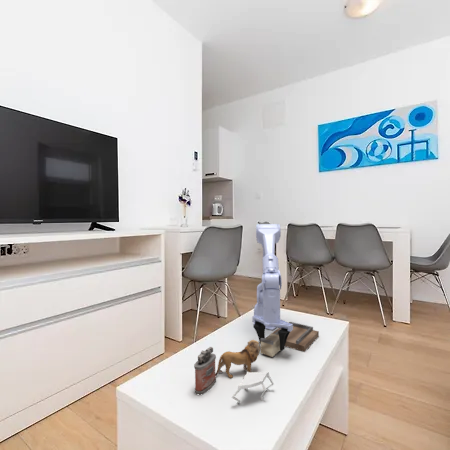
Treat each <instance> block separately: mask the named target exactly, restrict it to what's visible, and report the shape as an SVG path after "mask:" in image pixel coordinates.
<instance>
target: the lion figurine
mask: <svg viewBox="0 0 450 450" xmlns="http://www.w3.org/2000/svg"><path fill="white" fill-rule="evenodd" d="M260 352H261V345H260V341H257V340H255V339H251V340H249V341H247V345H245V346H244V348H243V349H242V350H241V351H238V352H235V351H233V352H232V351H230V350H229V351H225V352H223V353H222V354H221V355H220V357H219V361H218V364H217V370H216V371H215V377H218V374H222V373H223V370H221V369H222V368H223V367H224V366H225V374H226V375H227V377H228V378H229V379H232V378H233V374H232V373H230V370H231V367H232V364H233V365H236V366H243V368H242V369H243V370H244V371H245V372H246V373H247V372H251V370H252V363H255V362H256V361H257V359H258V357H259V356H260V355H259V354H260Z"/></svg>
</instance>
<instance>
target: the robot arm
mask: <svg viewBox="0 0 450 450" xmlns="http://www.w3.org/2000/svg"><path fill="white" fill-rule="evenodd" d="M281 233H282V232H281V224H280V223H257V224H256V225H255V237H256V242H257V243H259V245H261V247H262V259H261V260H262V262H261V263H262V275H261V282H260V283H259V284H257V286H256V303H255V305H254V308H253V316H252V317H251V319H252V321H251V322H252V323H253V324H252V325H253V328H254V330H255V332H256V334H257V338H258V342H259V346H261V338H264V339H265V338H266V336H265V335H266V329H267V330H270V331H273V330H274V331H275V329H276V328H277V329H278V328H281V330H279V331H278V334H279V339H280V351H279V352H283V351H284V350H285V347H286V346H285V343H286V340H287V337H288V335H289V333H290V332H291V331H292V330H293V324H291V323H289V322H287V321H285V320H282V319H281V290H282V283H283V282H282V274H281V270H280V269H279V268H280V266H279V264H280V263H279V258H278V256H276V255H275V249H276V248H275V245H276V244H278V243H279V242H280V239H281Z"/></svg>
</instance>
